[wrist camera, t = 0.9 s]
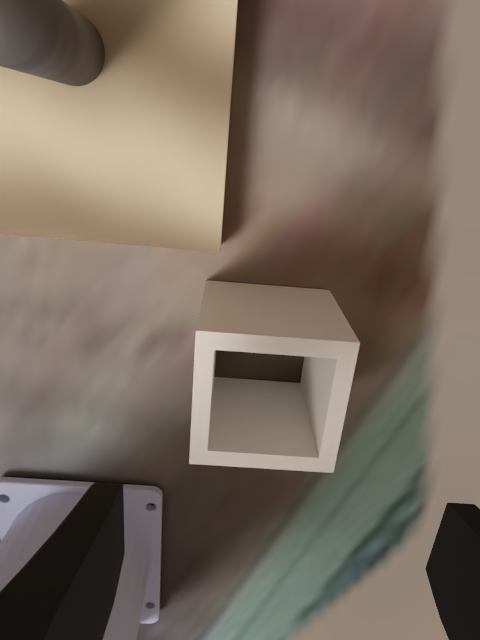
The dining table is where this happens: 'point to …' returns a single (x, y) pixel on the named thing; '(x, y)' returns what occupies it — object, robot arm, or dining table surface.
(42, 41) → the roll holder
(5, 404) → the dining table surface
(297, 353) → the hollow square tube
